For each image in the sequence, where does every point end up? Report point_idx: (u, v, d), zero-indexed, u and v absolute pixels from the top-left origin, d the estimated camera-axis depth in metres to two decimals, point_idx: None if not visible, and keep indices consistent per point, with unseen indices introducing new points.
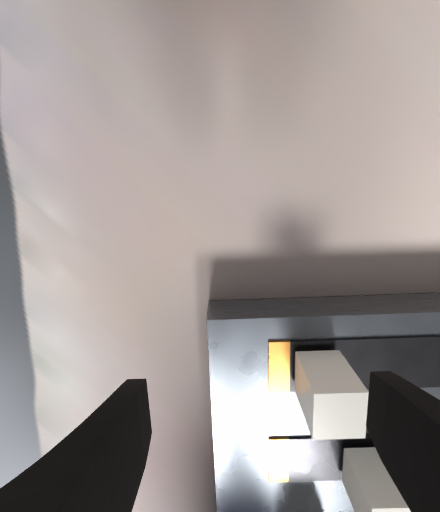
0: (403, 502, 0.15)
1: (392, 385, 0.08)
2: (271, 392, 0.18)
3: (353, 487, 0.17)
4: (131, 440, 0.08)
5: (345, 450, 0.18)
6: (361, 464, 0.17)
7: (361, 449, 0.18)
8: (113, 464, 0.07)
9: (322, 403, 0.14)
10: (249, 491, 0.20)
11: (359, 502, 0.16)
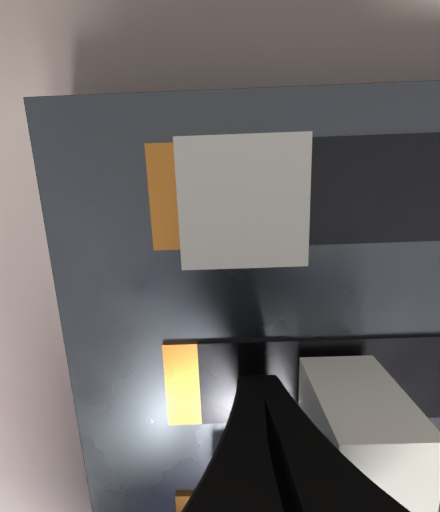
0: (408, 434, 0.07)
1: (263, 389, 0.08)
2: (158, 250, 0.10)
3: (311, 420, 0.09)
4: None
5: (301, 360, 0.10)
6: (327, 377, 0.09)
7: (330, 358, 0.10)
8: None
9: (196, 164, 0.05)
10: (137, 441, 0.12)
11: None
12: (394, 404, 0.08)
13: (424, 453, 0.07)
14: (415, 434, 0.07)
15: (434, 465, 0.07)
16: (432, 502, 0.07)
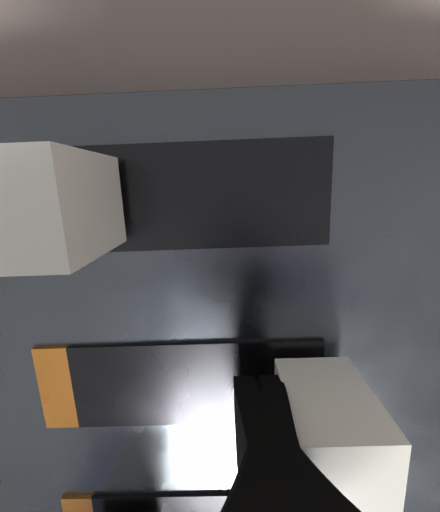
0: (371, 436, 0.07)
1: (236, 390, 0.08)
2: None
3: None
4: None
5: (276, 361, 0.10)
6: (299, 379, 0.09)
7: (305, 359, 0.10)
8: None
9: None
10: (19, 444, 0.12)
11: None
12: (362, 406, 0.08)
13: (387, 456, 0.07)
14: (379, 437, 0.07)
15: (397, 468, 0.07)
16: (396, 505, 0.07)
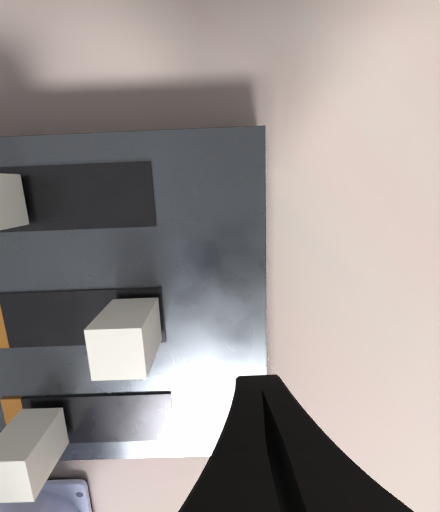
0: (125, 326, 0.13)
1: (264, 389, 0.08)
2: None
3: None
4: None
5: (112, 300, 0.16)
6: (116, 307, 0.15)
7: (130, 299, 0.16)
8: None
9: None
10: None
11: None
12: (136, 316, 0.14)
13: (130, 334, 0.13)
14: (129, 326, 0.13)
15: (137, 342, 0.13)
16: (141, 363, 0.13)
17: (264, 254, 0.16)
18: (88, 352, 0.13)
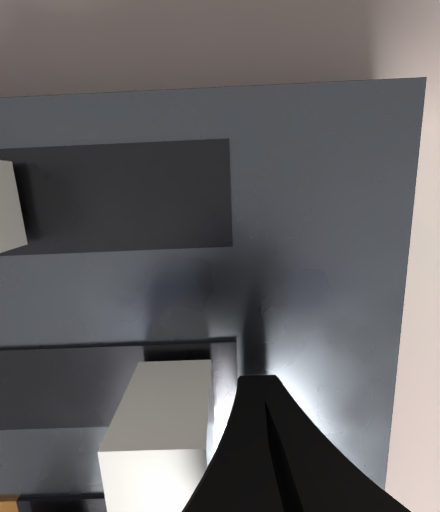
0: (174, 440, 0.07)
1: (263, 389, 0.08)
2: None
3: None
4: None
5: (138, 364, 0.10)
6: (147, 382, 0.09)
7: (167, 363, 0.10)
8: None
9: None
10: None
11: None
12: (187, 410, 0.08)
13: (184, 459, 0.07)
14: (182, 440, 0.07)
15: (197, 471, 0.07)
16: None
17: (402, 289, 0.10)
18: (105, 489, 0.07)
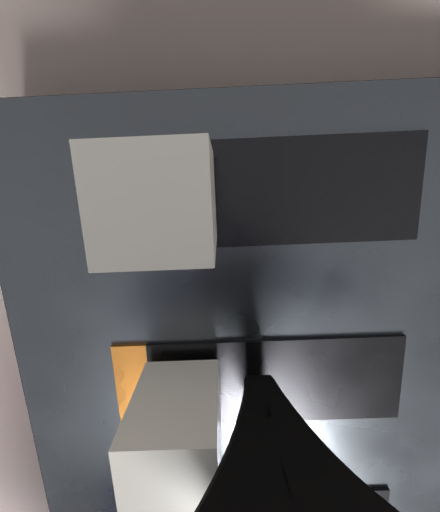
0: (185, 440, 0.07)
1: (257, 389, 0.08)
2: None
3: None
4: None
5: (145, 364, 0.10)
6: (155, 382, 0.09)
7: (175, 363, 0.10)
8: None
9: (94, 167, 0.05)
10: (91, 443, 0.12)
11: None
12: (196, 410, 0.08)
13: (194, 459, 0.07)
14: (192, 440, 0.07)
15: (208, 471, 0.07)
16: None
17: None
18: (116, 488, 0.07)
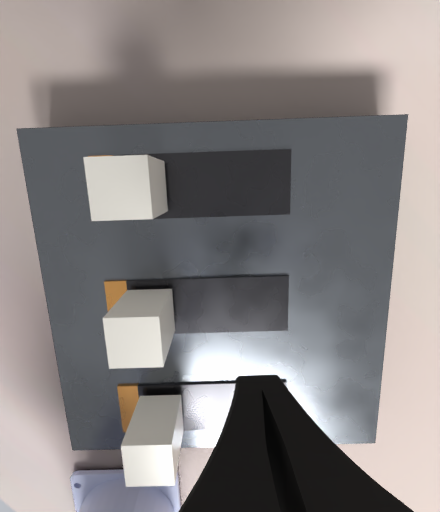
0: (143, 314, 0.13)
1: (264, 389, 0.08)
2: None
3: None
4: None
5: (127, 291, 0.16)
6: (131, 297, 0.15)
7: (145, 290, 0.16)
8: None
9: (95, 170, 0.12)
10: (91, 348, 0.18)
11: None
12: (152, 305, 0.14)
13: (148, 323, 0.13)
14: (147, 315, 0.13)
15: (155, 330, 0.13)
16: (158, 352, 0.13)
17: (393, 243, 0.16)
18: (106, 340, 0.13)
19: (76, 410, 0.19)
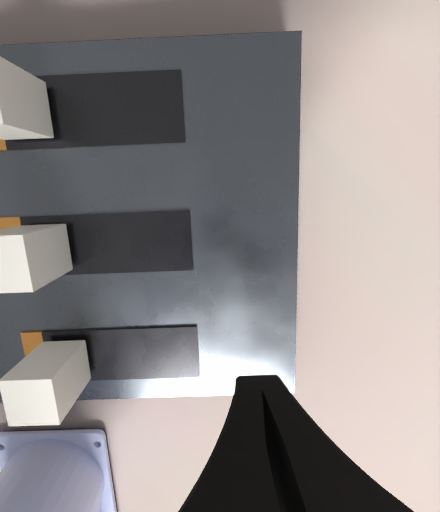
0: (8, 234, 0.12)
1: (264, 389, 0.08)
2: None
3: None
4: None
5: (17, 226, 0.15)
6: (15, 228, 0.15)
7: (36, 225, 0.15)
8: None
9: None
10: None
11: None
12: (27, 230, 0.13)
13: (11, 242, 0.12)
14: (13, 235, 0.12)
15: (20, 250, 0.12)
16: (26, 275, 0.13)
17: (297, 173, 0.15)
18: None
19: None
